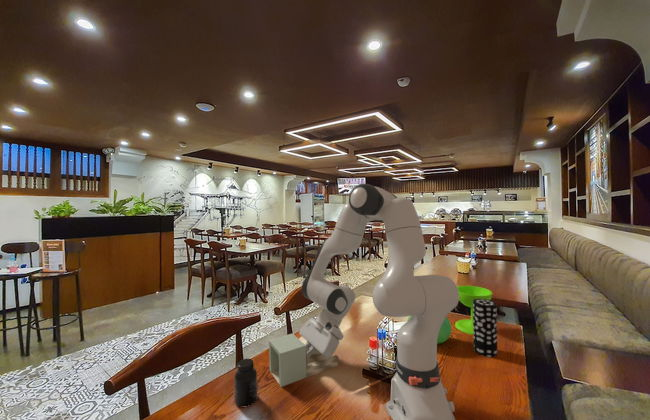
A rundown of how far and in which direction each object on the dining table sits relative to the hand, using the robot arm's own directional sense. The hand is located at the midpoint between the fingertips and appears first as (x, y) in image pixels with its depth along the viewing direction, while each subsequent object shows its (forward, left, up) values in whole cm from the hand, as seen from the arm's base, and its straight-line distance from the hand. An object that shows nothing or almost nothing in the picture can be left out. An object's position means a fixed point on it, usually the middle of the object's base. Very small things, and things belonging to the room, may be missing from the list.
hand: (304, 356), depth 102 cm
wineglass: (+29, -79, -5) cm, 85 cm away
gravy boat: (+18, -53, -5) cm, 56 cm away
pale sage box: (-4, +6, -5) cm, 8 cm away
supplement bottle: (-15, +18, -5) cm, 24 cm away
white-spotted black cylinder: (+8, -72, -5) cm, 73 cm away
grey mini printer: (0, +1, -5) cm, 5 cm away
